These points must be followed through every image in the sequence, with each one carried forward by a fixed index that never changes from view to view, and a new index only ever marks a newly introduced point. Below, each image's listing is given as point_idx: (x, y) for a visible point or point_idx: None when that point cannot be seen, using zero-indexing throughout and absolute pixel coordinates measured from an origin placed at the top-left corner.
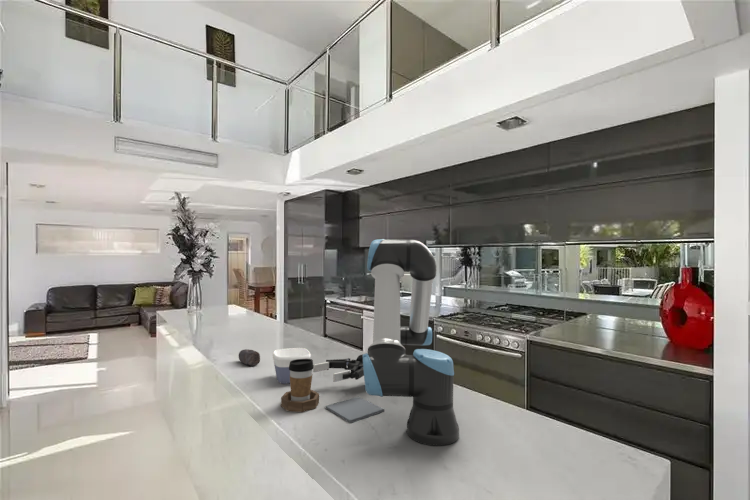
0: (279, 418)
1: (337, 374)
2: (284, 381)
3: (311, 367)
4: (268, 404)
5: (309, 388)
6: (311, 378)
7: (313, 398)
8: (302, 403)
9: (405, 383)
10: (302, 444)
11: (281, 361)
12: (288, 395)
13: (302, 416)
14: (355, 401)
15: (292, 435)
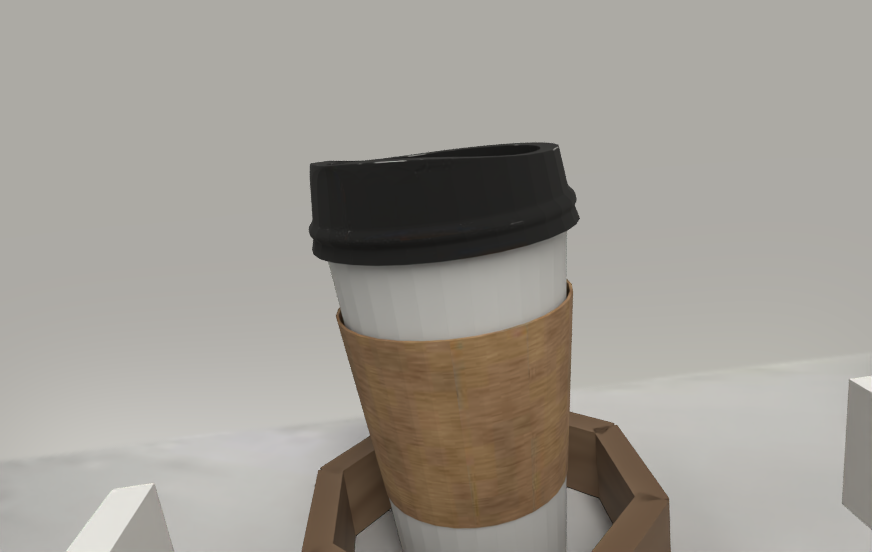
0: (350, 433)
1: (85, 547)
2: None
3: (316, 231)
4: (591, 416)
5: (379, 448)
6: (370, 367)
7: (334, 545)
8: (322, 473)
9: None
10: (23, 462)
11: None
12: (598, 456)
13: (269, 518)
14: None
15: (132, 448)
